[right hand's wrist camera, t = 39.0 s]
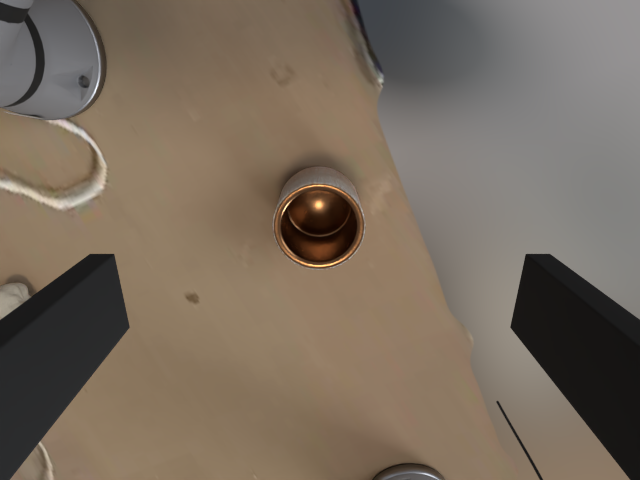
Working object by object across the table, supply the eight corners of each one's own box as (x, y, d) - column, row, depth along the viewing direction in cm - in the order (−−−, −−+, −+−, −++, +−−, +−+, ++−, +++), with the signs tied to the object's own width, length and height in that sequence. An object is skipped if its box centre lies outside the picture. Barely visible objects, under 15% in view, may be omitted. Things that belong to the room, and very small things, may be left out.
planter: (374, 210, 54) (385, 235, 45) (313, 255, 57) (311, 287, 48) (325, 148, 51) (326, 161, 42) (263, 198, 53) (251, 221, 44)
